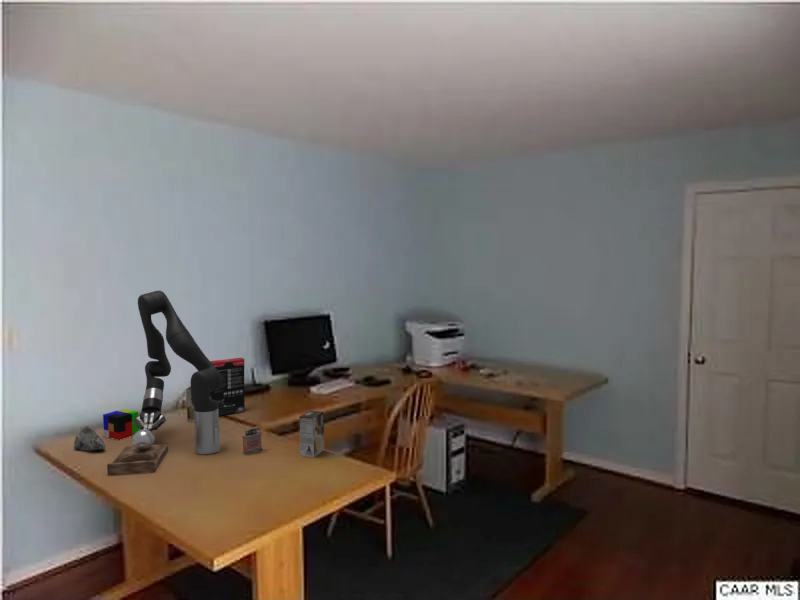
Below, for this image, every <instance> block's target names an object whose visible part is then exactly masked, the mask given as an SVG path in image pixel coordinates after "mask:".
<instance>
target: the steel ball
mask: <svg viewBox="0 0 800 600" xmlns="http://www.w3.org/2000/svg"><path fill="white" fill-rule="evenodd" d="M131 442H132V446H134V447H135V448H137V449H139V450H146V449H148V448H150V447H151V446H152V445H154V443H155V434H154V432H153V431H152V432H151V431H149V430H147V429H142V430H140V429H139V431H137V432H136V433H135V434H134V436H132V441H131Z"/></svg>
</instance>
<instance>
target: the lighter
mask: <svg viewBox="0 0 800 600" xmlns="http://www.w3.org/2000/svg"><path fill="white" fill-rule="evenodd" d="M260 430H261V427H260V426H255V427H248V428H247V429H245V430H244V432H245V434H242V435H241V436H242V449H243V450H242V455H243V454H248V455H253V454H257V453H260V451H261V452H262V451H263V447H262V443H263V442H262V435H263V434H262V433H263V432H262V431H260ZM256 452H257V453H256ZM252 453H253V454H252Z"/></svg>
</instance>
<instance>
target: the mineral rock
mask: <svg viewBox="0 0 800 600" xmlns="http://www.w3.org/2000/svg"><path fill="white" fill-rule="evenodd" d="M73 445H74V446H73V449H74V450H81V451H86V452H87V451H90V452H92V451H93V450H94V451H99V450H104V449H106V444H105V443H104V440H103V439H102V438H101V436H100V435H98V434H97V433H96V431H95V429H94V428H92V427H90V426H89V425H87V426H81V427H80V428H79V430H78V431H77V432H76V435H75V439H74V443H73Z"/></svg>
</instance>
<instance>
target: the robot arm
mask: <svg viewBox="0 0 800 600" xmlns="http://www.w3.org/2000/svg"><path fill="white" fill-rule="evenodd" d="M137 298H138V299H137V307H138V313H139V315H140V320H141V323H142V327H143V330H144V334H145V338H146V347H147V355H148V358H150V359H151V360H149V361H147V363H146V364H145V366H144V372H145V376H146V385H145V386H146V387H145V390H144V395H143V401H142V406H141V412H140V413H139V417H137V418H134V419H133V420H134V422H135V423H136V425H137V426H138V427H139V430H142V429H147V430H149V431H151V432H152V433H153V431H157V430H159V428H160V427H161V426H162V425H163V424H164V423H166V421H167V418H166V416H165V415H162V413H161V412H162V407H163V406H162V405H163V402H164V389H165V381H164V380H163V379H162V378H164V377H168V376H169V375H170V374H171V371H172V365H171V363H170V361H169V359H168V356H167V353H166V347H165V345H166V343H165V340H166V342H167V344H168V345H169V347H170V348H171V350H172V352H173V353H174V354H176V355H177V356H178V357H179V358H181V359H182V360H185V362H188V363H189V364H191V365H192V366H193V367H194V368H195V369H196V370H197V371H195V372H194V373H192V375H191V377H190V387H191V395H192V403H193V405H194V418H195V422H194V440H195V442H194V443H195V453H197V454H198V455H210V454H214V453H219V452H220V449H221V428H220V426H221V425H220V423H219V422H220V420H219V418H220V416H218V402H217V401H216V400H212V399H210V398H209V392H211V391H214V390H217V389H219V388H220V387H221V385H222V377H221V375H220V373H219V371H218V370H217V369H216V368H215V366H214V365H213V364H212V363H211V362H210V361H211V360H210V359H209V358H208V357H207V355H206V354H205V353H204V351H202V348H200V346H199V345H198V343H197V342H196V341H195V339H194V337H193V336H192V335H191V333H190V331H189V330H188V329H187V327H186V326H185V325H184V323H183V322H182V320H181V318H180V317H179V315H178V314H177V312H176V310H175V308H174V307H173V305H172V303H171V301H170V299H169V298H168V296H167V294H166V293H165V292H164V291H162V290H153V291H151V292H150V291H149V292H146V293H142V294H140V295H139V296H138V297H137ZM159 313H162V314H163V317H164V319H165V320H166V326H165V327H166V328H165V339H164V335H163V334H162V333H161V332H160V330H159V329H158V328H157V327H156V326H155V324H154V323H153V320H152V315H156V314H159ZM152 359H153V360H152ZM160 377H161V378H160ZM141 421H142V423H143V425H142V423H141Z"/></svg>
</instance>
